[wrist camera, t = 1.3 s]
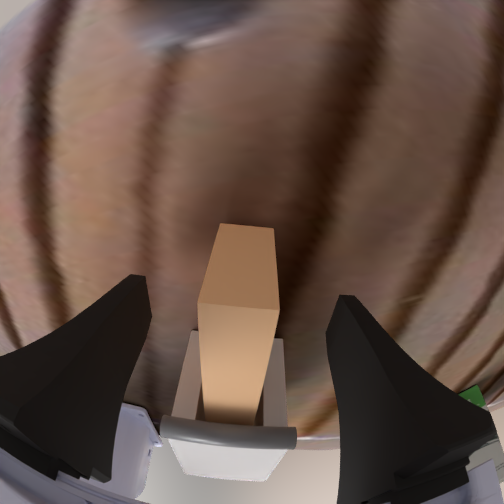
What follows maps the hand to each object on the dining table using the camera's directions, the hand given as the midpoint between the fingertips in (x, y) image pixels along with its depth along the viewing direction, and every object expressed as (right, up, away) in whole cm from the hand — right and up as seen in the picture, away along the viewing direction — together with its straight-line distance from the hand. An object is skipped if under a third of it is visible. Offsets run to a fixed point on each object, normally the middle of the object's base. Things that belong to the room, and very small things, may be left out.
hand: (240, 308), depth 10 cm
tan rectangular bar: (0, -3, +4) cm, 4 cm away
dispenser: (-1, -5, +6) cm, 8 cm away
